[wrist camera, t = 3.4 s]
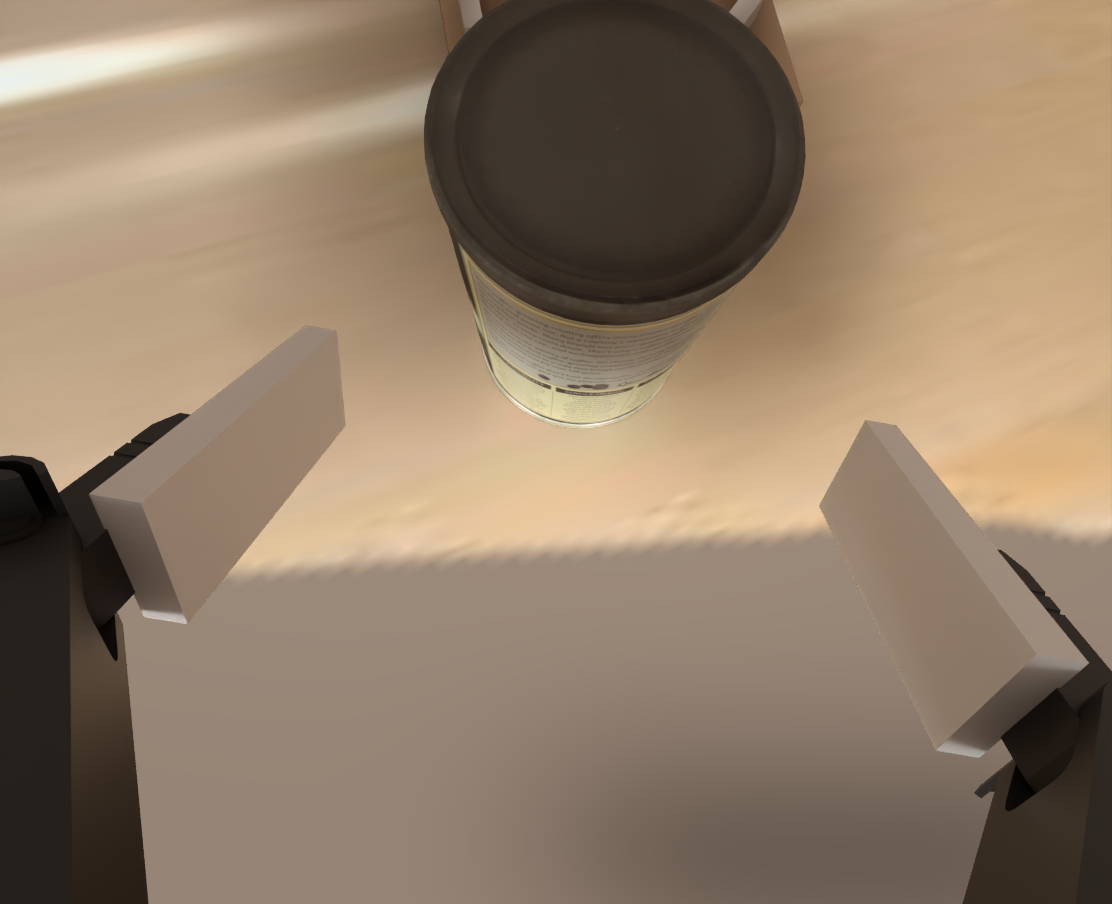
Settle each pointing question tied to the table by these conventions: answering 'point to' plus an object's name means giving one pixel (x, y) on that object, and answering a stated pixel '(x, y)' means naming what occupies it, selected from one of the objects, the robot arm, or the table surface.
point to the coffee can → (607, 189)
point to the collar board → (747, 3)
